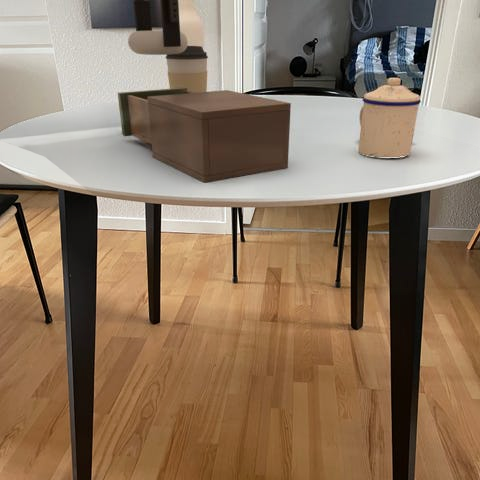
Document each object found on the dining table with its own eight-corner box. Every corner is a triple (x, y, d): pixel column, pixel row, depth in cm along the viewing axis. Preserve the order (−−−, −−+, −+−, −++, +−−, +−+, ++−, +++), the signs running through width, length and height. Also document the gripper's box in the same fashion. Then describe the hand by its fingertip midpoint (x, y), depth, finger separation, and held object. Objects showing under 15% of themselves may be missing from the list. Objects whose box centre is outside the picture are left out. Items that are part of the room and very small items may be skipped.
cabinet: (152, 157, 83) (146, 96, 78) (227, 146, 90) (227, 90, 85) (204, 182, 70) (201, 112, 65) (287, 167, 77) (291, 103, 72)
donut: (163, 52, 91) (117, 53, 85) (162, 30, 90) (115, 30, 83) (200, 54, 85) (153, 56, 79) (199, 31, 84) (151, 30, 77)
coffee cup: (196, 115, 118) (193, 42, 110) (217, 120, 112) (216, 44, 104) (162, 119, 113) (156, 44, 105) (182, 125, 107) (178, 46, 99)
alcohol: (168, 106, 130) (158, -35, 114) (179, 101, 137) (171, -32, 121) (200, 107, 128) (195, -36, 112) (210, 102, 135) (205, -33, 120)
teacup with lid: (422, 156, 83) (437, 79, 77) (378, 162, 80) (389, 82, 74) (378, 142, 92) (388, 72, 86) (336, 147, 89) (343, 75, 83)
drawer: (120, 134, 94) (114, 91, 90) (184, 127, 101) (181, 86, 97) (160, 153, 82) (156, 104, 78) (230, 143, 88) (230, 97, 84)
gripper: (205, -142, 67) (210, 47, 78) (137, -111, 83) (150, 42, 94) (153, -151, 63) (167, 49, 75) (93, -117, 79) (113, 43, 91)
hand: (158, 45), depth 85 cm, fingers closed on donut, 10 cm apart
